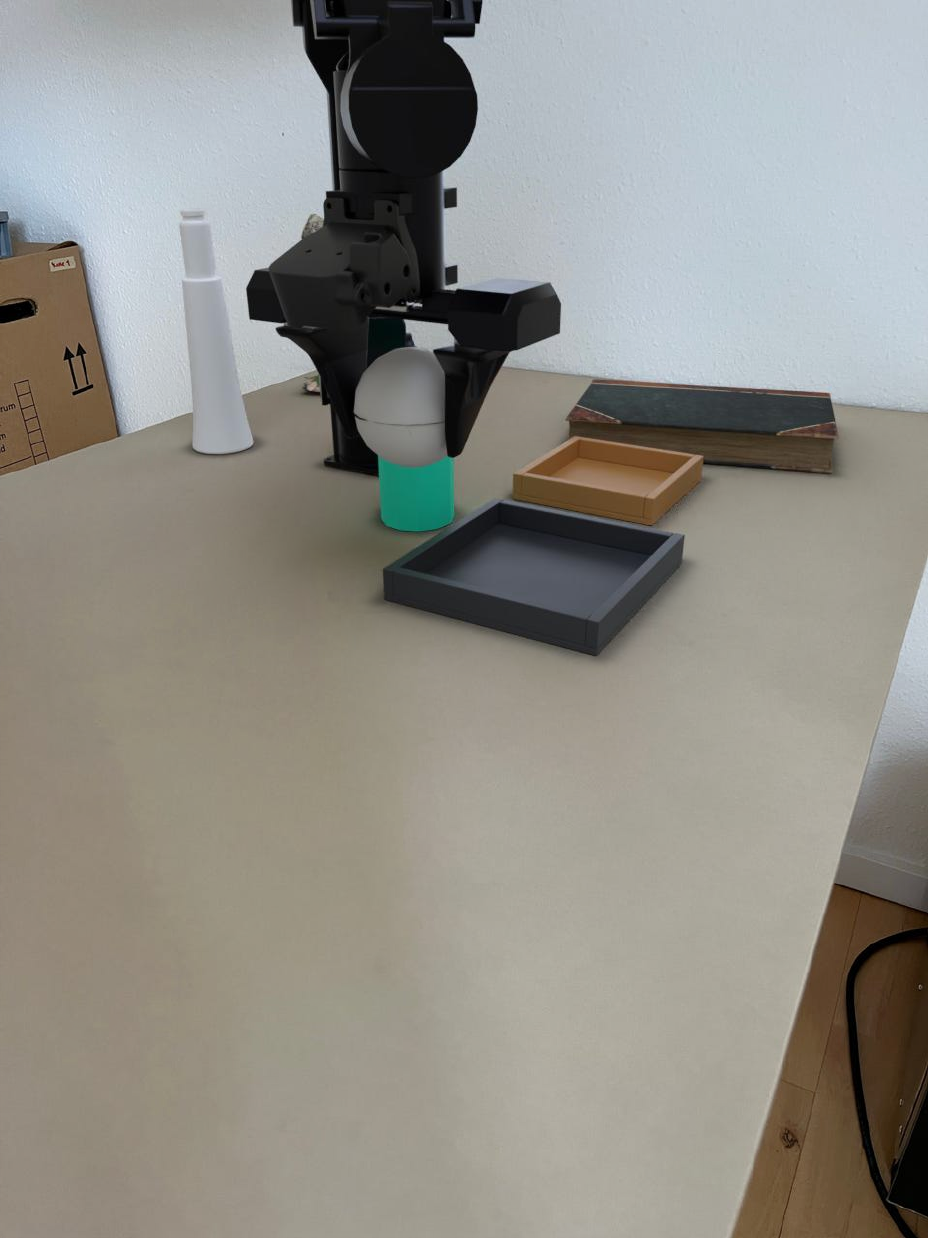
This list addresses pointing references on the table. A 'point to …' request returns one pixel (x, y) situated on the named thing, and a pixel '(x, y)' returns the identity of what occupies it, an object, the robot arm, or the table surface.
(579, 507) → the wood tray
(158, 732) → the table surface
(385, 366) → the white sphere
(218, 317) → the cosmetic bottle
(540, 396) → the table surface
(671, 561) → the dark tray
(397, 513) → the candle
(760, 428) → the book
